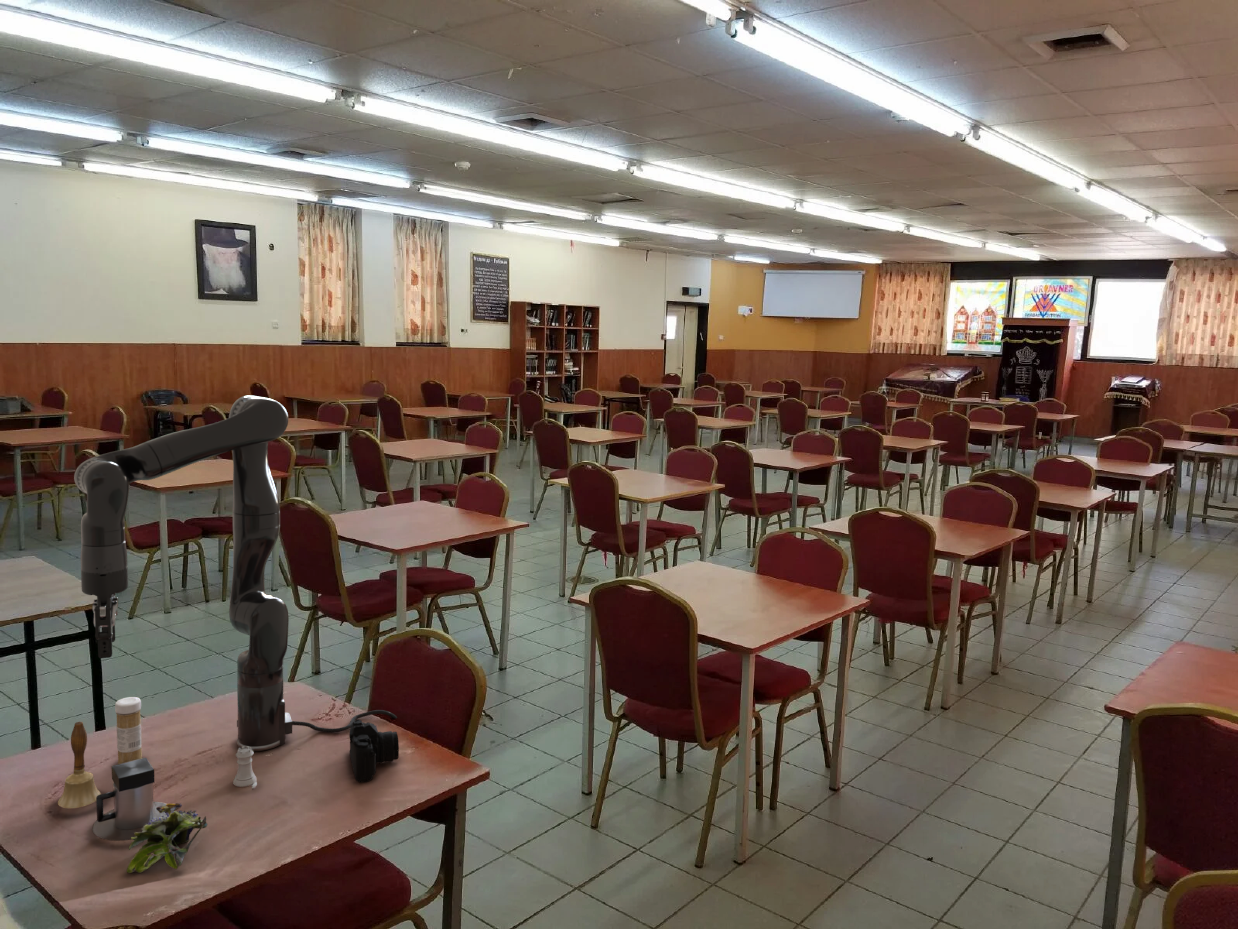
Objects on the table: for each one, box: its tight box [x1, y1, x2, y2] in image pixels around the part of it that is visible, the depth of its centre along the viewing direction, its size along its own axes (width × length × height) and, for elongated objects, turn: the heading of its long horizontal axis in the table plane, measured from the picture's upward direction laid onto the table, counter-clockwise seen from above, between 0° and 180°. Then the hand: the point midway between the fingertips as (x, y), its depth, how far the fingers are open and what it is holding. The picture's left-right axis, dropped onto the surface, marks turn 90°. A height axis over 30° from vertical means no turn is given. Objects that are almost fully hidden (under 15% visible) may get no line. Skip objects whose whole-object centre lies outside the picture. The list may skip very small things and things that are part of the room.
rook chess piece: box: [232, 746, 258, 790], centre depth 173 cm, size 4×4×8 cm
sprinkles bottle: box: [114, 696, 143, 765], centre depth 179 cm, size 5×5×13 cm
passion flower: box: [126, 802, 208, 874], centre depth 148 cm, size 11×11×12 cm
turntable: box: [91, 801, 174, 842], centre depth 158 cm, size 13×13×1 cm
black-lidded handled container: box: [95, 757, 156, 830], centre depth 157 cm, size 9×6×10 cm
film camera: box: [348, 718, 400, 783], centre depth 185 cm, size 15×10×9 cm, turn 22°
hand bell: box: [57, 721, 102, 809], centre depth 163 cm, size 8×8×16 cm
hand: (107, 649), depth 166 cm, fingers open, 8 cm apart
